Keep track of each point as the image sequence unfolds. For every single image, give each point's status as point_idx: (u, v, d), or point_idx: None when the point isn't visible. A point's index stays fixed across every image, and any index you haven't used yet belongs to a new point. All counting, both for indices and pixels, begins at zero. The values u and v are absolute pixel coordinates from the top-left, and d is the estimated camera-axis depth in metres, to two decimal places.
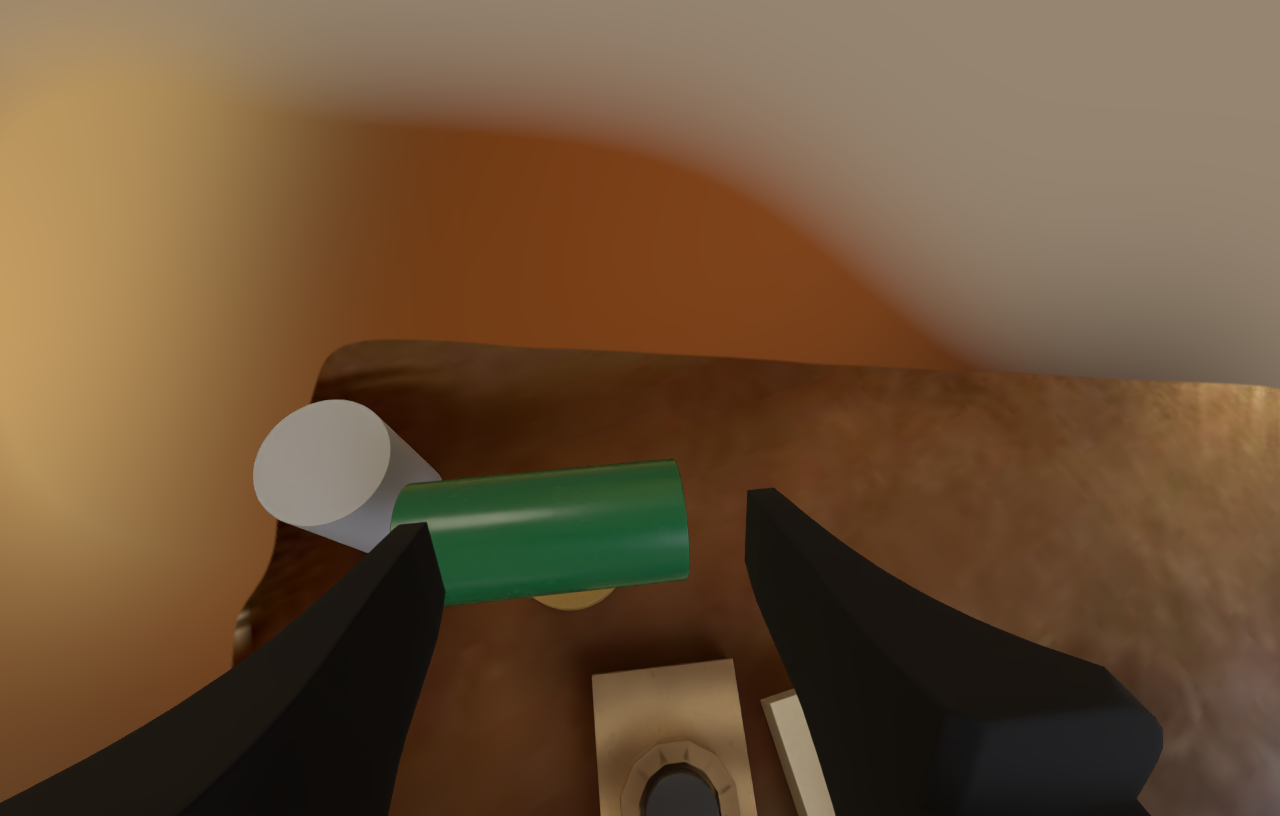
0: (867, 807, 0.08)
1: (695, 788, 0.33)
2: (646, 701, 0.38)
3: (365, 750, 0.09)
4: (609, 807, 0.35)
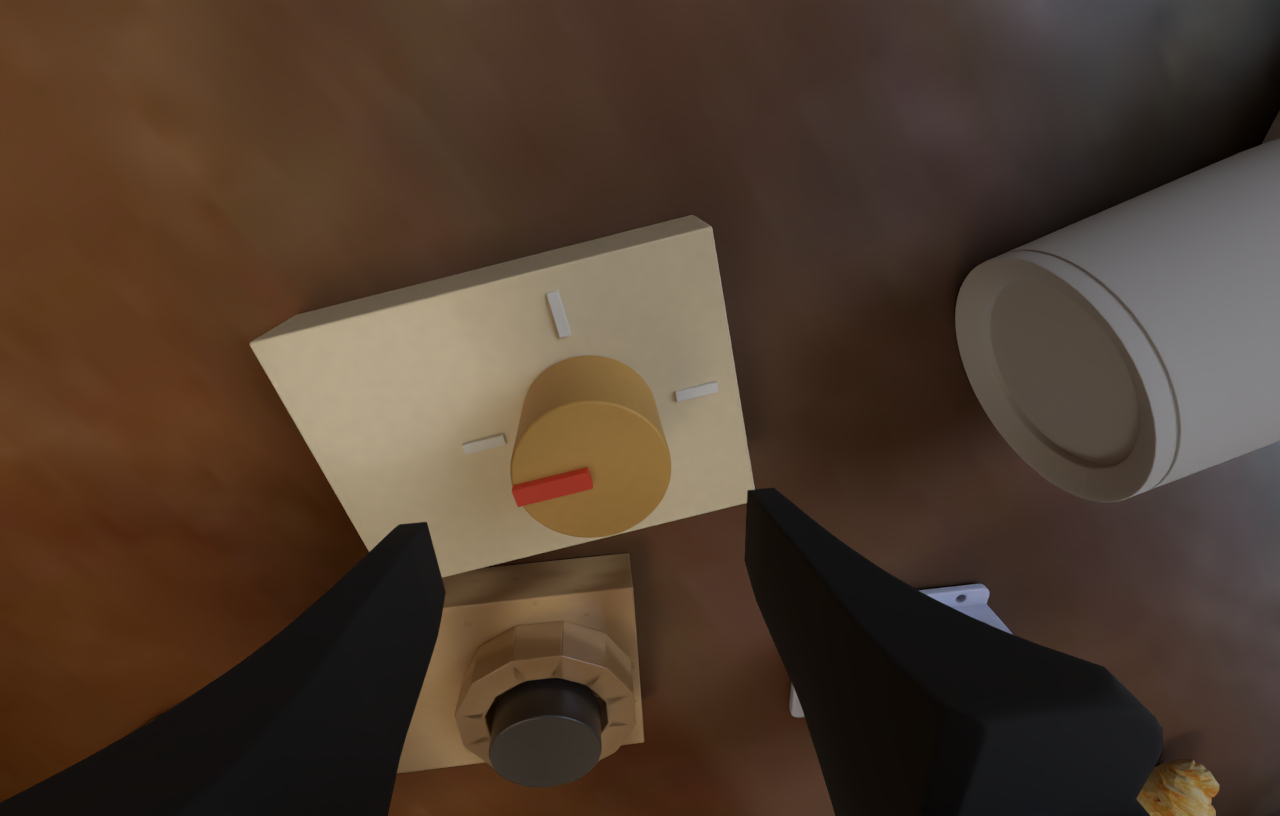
0: (867, 807, 0.08)
1: (509, 742, 0.21)
2: (419, 719, 0.25)
3: (365, 750, 0.09)
4: None
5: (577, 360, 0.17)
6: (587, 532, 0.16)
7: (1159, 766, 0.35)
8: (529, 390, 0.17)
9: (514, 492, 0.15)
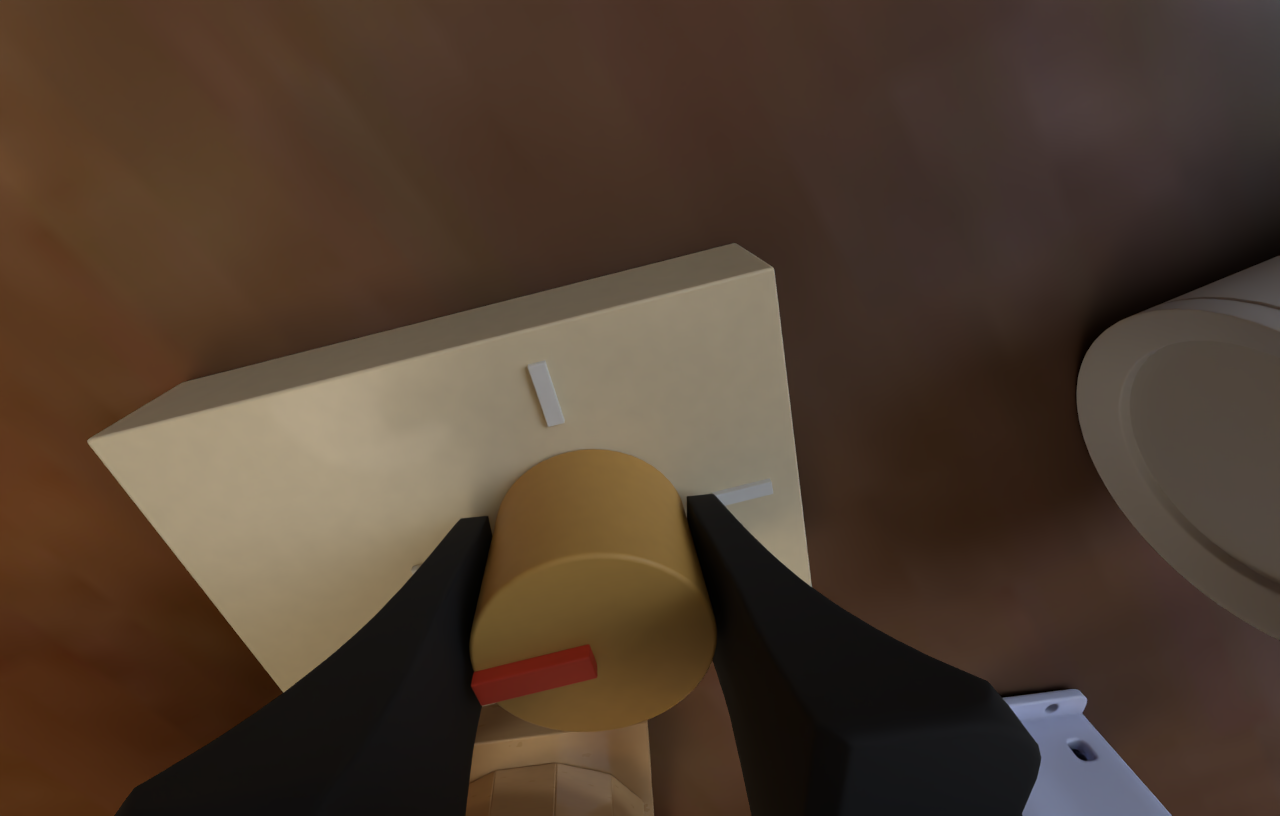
0: None
1: None
2: None
3: (449, 740, 0.09)
4: None
5: (573, 459, 0.12)
6: (588, 726, 0.11)
7: None
8: (505, 499, 0.12)
9: (475, 687, 0.09)
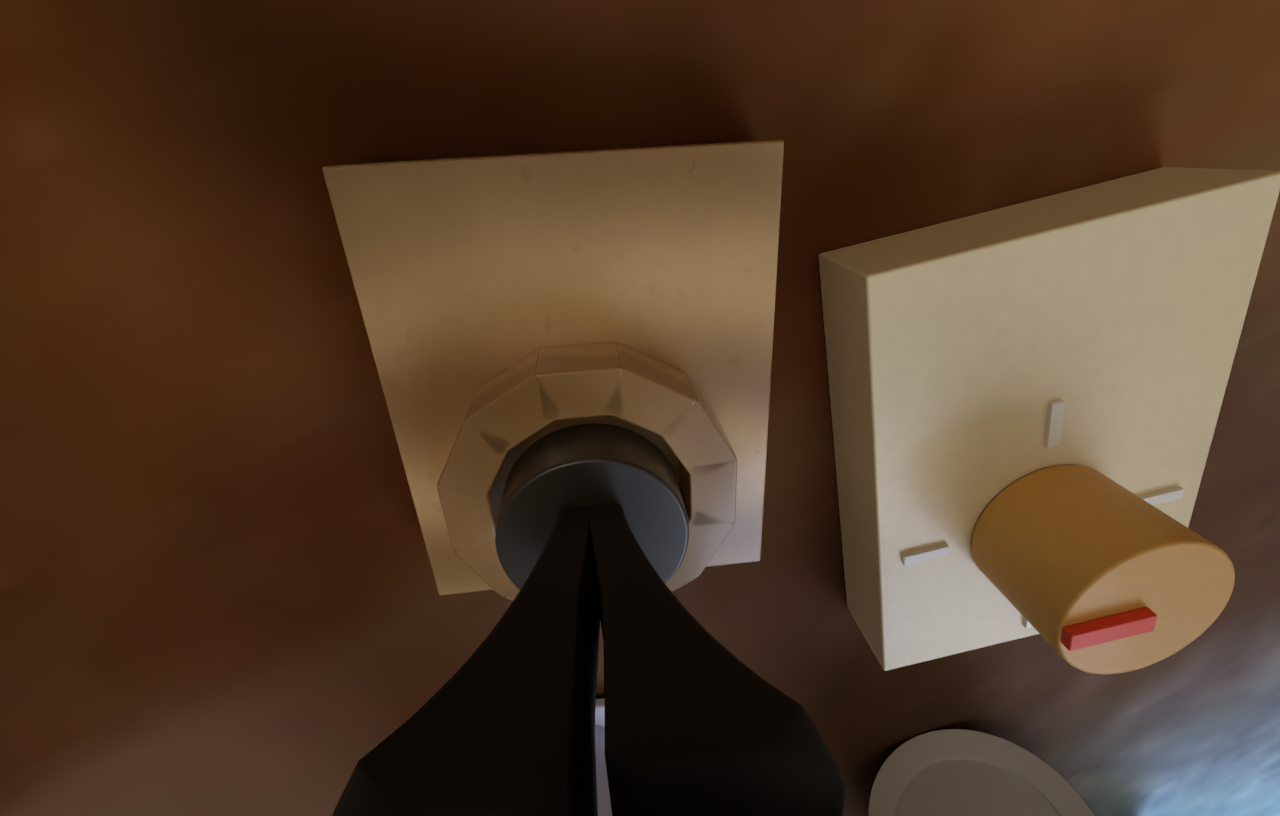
0: None
1: (633, 491, 0.12)
2: (509, 253, 0.13)
3: (588, 722, 0.09)
4: (429, 475, 0.15)
5: (1065, 472, 0.15)
6: (1110, 669, 0.14)
7: None
8: (1000, 502, 0.16)
9: (1074, 637, 0.13)
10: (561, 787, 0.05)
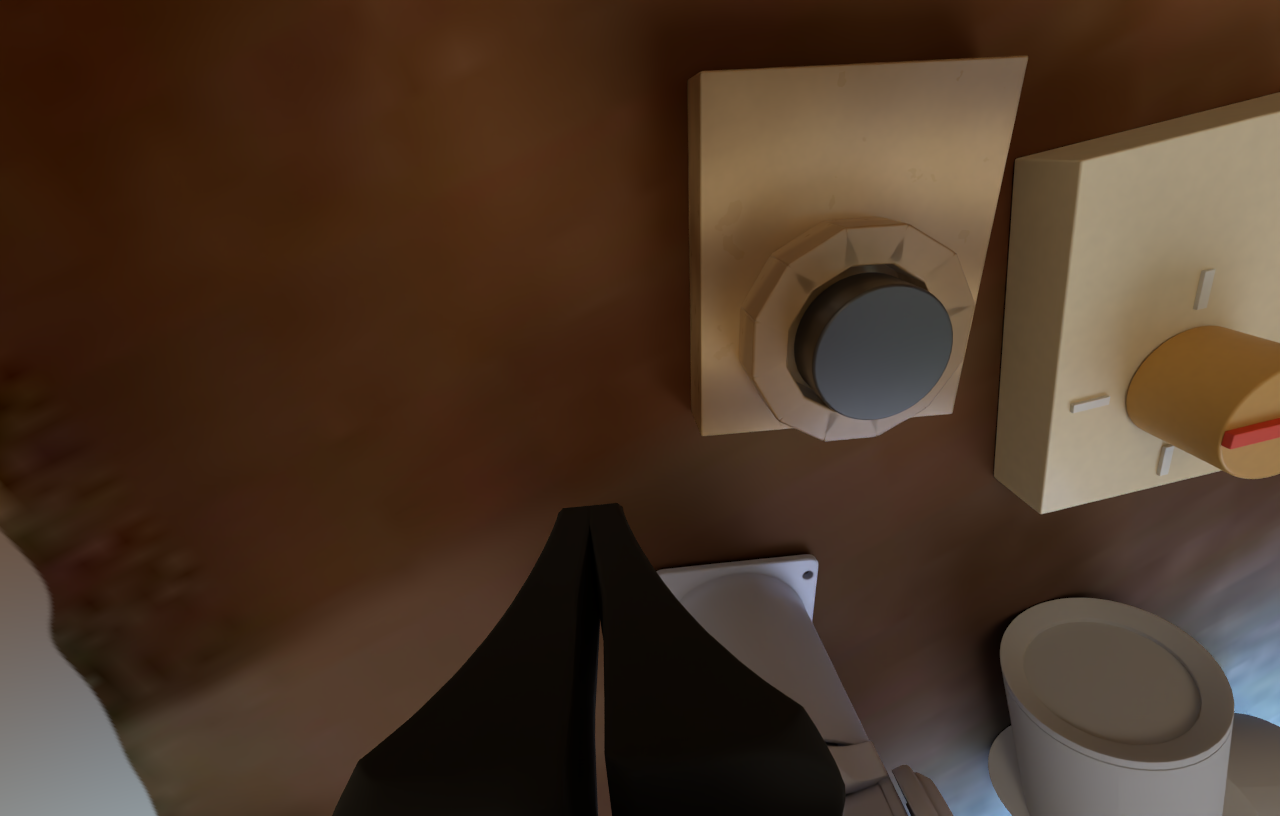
0: None
1: (920, 312, 0.16)
2: (816, 141, 0.17)
3: (588, 722, 0.09)
4: (718, 327, 0.19)
5: (1211, 329, 0.20)
6: (1254, 473, 0.19)
7: None
8: (1157, 356, 0.20)
9: (1236, 436, 0.18)
10: (561, 787, 0.05)
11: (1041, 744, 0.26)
